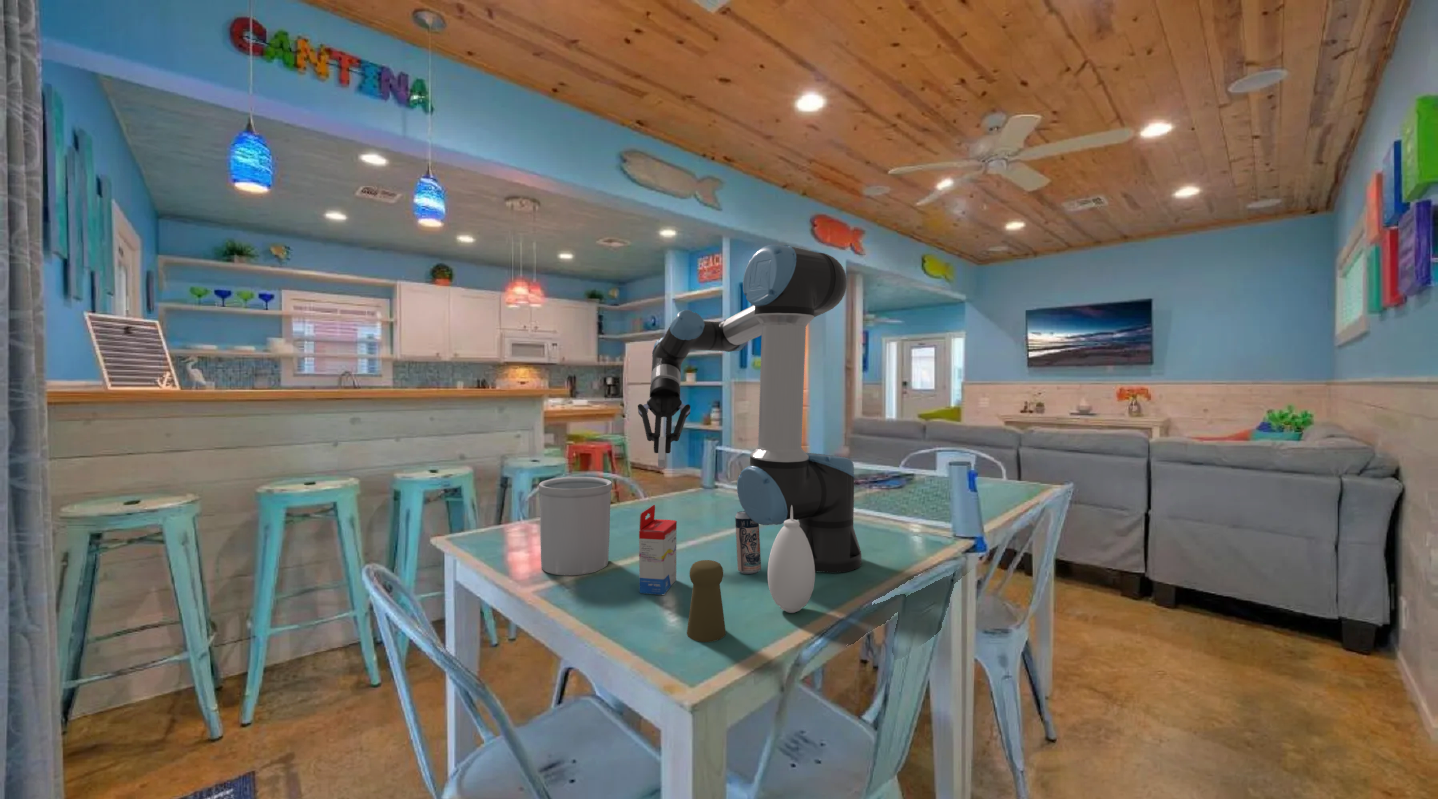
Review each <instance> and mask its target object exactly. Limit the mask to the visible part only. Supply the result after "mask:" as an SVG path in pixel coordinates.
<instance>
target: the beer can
mask: <svg viewBox="0 0 1438 799" xmlns="http://www.w3.org/2000/svg"><path fill="white" fill-rule="evenodd" d="M734 520H735V538H736V539H735V540H736V542H735V544H736V560H737V562H736V563H737V571H738V572H739V573H741V574H744V575H745V574H746V575H750V574H751V575H753V574H757V573H759V571H761V570H762V562H761V560H762V559H761V542H760V541H761V540H760V539H761V538H760V524H758V523H756V522H754V521H753V520H751V519H750V518H749V517H748V515H747V514H746V513H745V511H744V510H741V511H737V512H736V515H735V517H734Z"/></svg>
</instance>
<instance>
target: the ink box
mask: <svg viewBox="0 0 1438 799" xmlns="http://www.w3.org/2000/svg"><path fill="white" fill-rule="evenodd" d="M655 513H656V505H655V504H652V505H651V506H650V507H647V509H645V510H644V511H641V513H640V515H639V531H638V538H639V539H638V543H639V544H638V545H639V546H638V549H639V550H638V552H639V553H638V554H639V555H638V557H639V560H638V561H639V564H638V565H639V572H638V573H639V576H638V577H639V580H638V581H639V594H645V595H646V594H648V595H657V596H658V595H659V596H664V595H665V594H666V593H667V592H668V591H669V589H670V588H671V587H672V586H673V585H674V583H675V582H676V581H677V528H678V527H677V525H678V524H677V523H678V521H677V520H673V519H658V518H657V519H656V518H655V515H656V514H655ZM648 514H649V516H648ZM647 516H648V517H647Z"/></svg>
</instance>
